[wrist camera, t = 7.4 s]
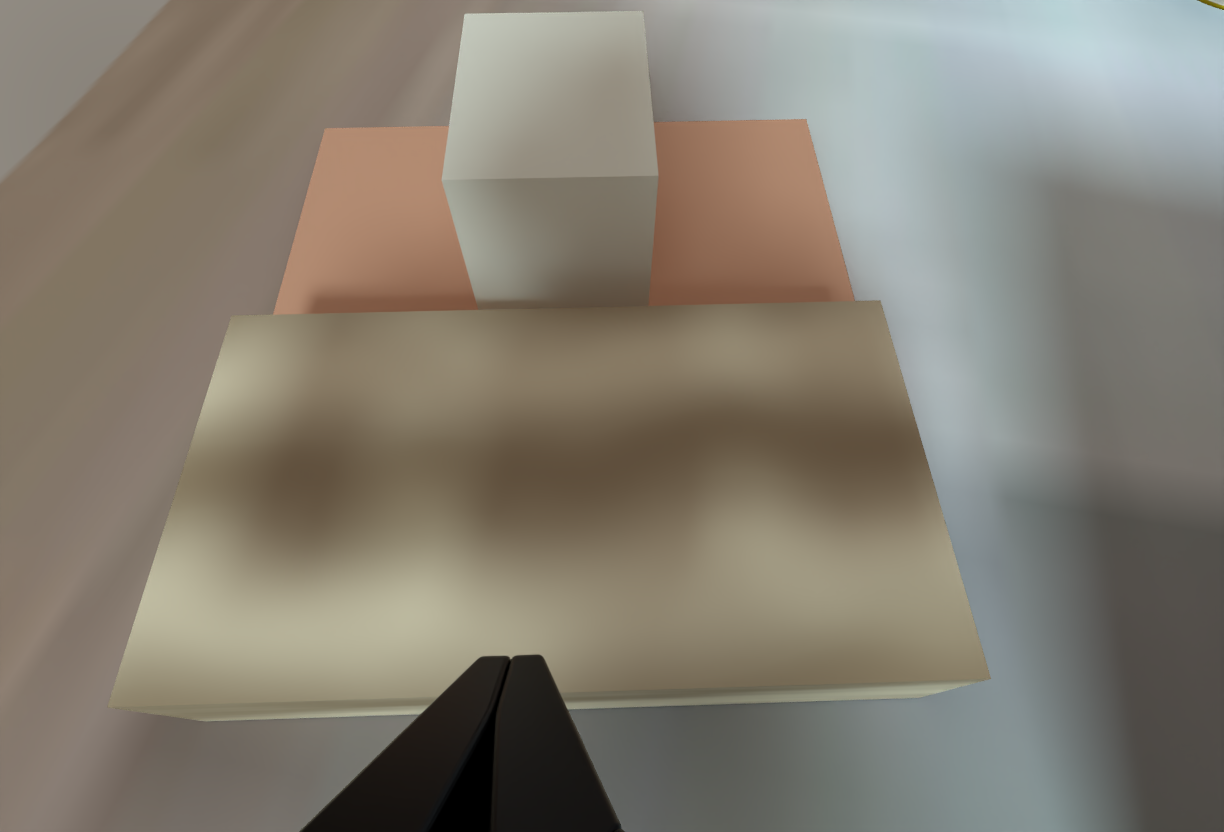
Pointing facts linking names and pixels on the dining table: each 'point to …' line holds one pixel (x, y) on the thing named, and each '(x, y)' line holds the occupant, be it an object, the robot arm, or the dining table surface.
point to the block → (553, 159)
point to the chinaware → (1214, 3)
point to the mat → (683, 234)
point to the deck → (552, 515)
